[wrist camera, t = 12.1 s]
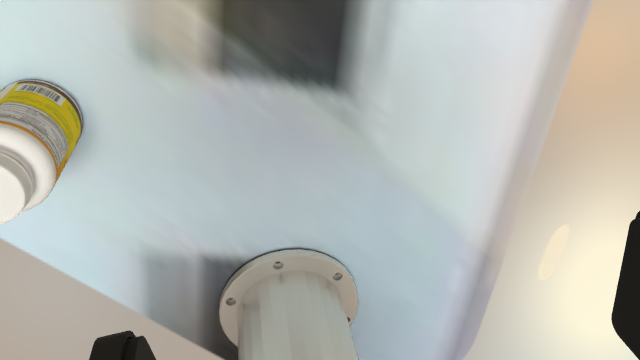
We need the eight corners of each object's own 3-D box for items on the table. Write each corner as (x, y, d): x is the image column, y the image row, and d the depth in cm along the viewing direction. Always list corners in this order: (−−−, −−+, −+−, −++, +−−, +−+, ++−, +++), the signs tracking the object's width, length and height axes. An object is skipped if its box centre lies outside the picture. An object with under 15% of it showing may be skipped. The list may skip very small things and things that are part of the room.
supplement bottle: (22, 160, 36) (-41, 249, 28) (-21, 88, 34) (-107, 162, 25) (99, 140, 37) (60, 222, 28) (63, 67, 34) (7, 133, 25)
